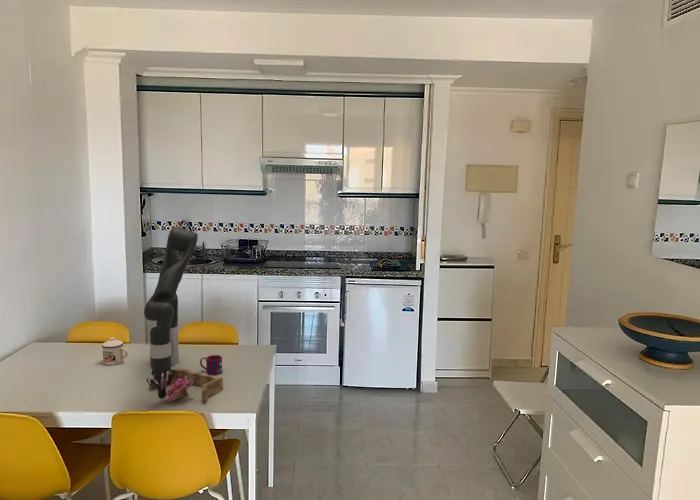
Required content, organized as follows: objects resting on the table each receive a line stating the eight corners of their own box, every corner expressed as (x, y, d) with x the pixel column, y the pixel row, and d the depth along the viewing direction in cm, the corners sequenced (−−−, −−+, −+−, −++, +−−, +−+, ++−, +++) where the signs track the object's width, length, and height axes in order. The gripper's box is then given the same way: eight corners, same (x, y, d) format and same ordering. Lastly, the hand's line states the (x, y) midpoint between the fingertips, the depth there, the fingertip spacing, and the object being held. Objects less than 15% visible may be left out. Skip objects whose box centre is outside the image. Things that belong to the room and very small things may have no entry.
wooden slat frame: (147, 389, 214) (147, 377, 213) (173, 377, 227) (172, 366, 226) (204, 404, 202) (204, 391, 201) (228, 390, 214) (228, 378, 213)
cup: (216, 376, 229) (216, 361, 228) (197, 372, 233) (196, 358, 232) (225, 370, 236) (224, 356, 235) (206, 367, 239) (205, 353, 238)
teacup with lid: (98, 364, 241) (96, 340, 239) (111, 358, 250) (110, 334, 248) (121, 367, 238) (120, 342, 236) (134, 360, 247) (132, 336, 245)
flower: (164, 410, 203) (158, 385, 206) (188, 404, 210) (181, 380, 214) (176, 401, 196) (170, 375, 199) (200, 395, 203) (194, 370, 206)
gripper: (166, 347, 207) (167, 390, 209) (139, 357, 195) (141, 402, 197) (180, 350, 204) (182, 393, 206) (154, 361, 192) (156, 406, 194)
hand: (162, 397), depth 202 cm, fingers closed
